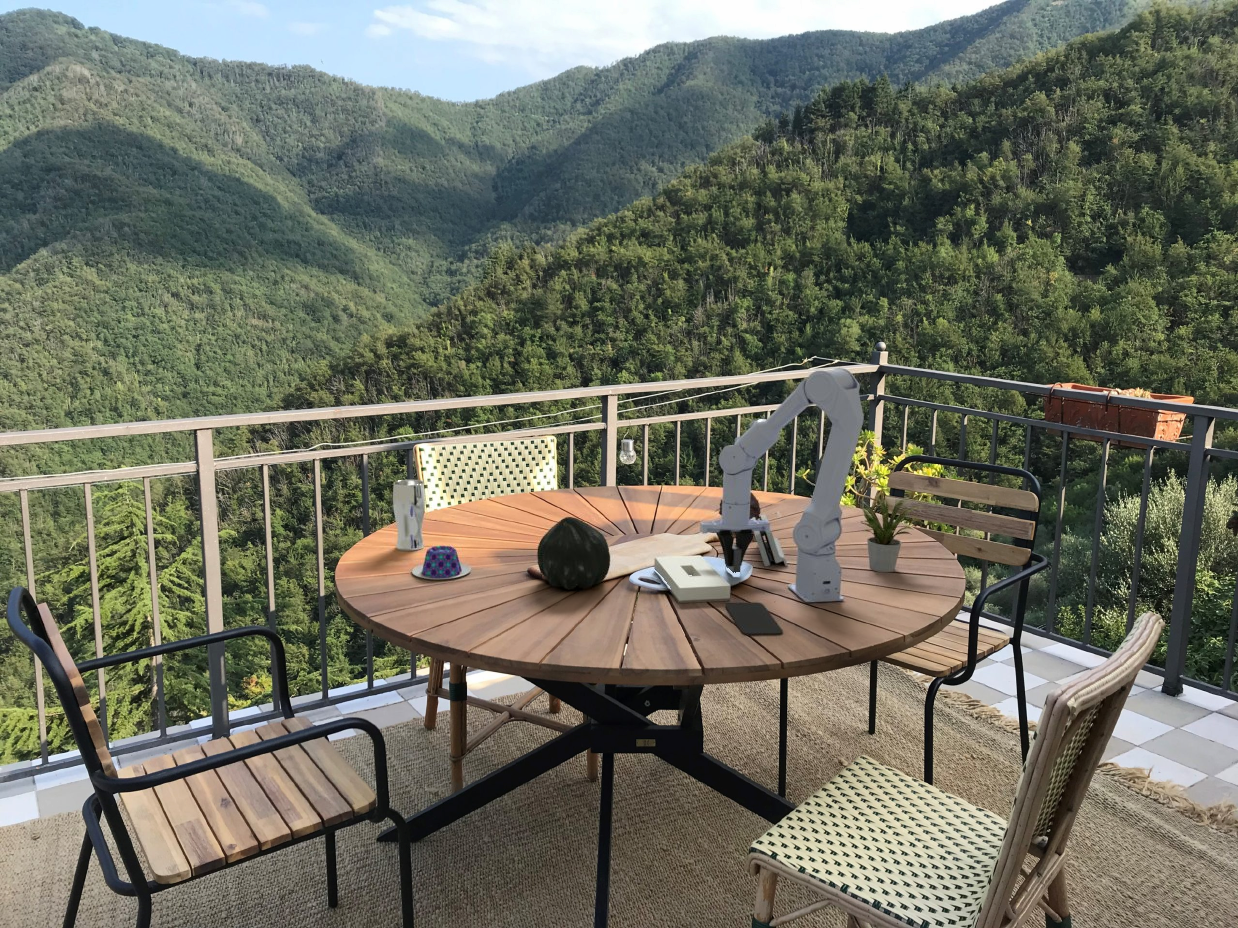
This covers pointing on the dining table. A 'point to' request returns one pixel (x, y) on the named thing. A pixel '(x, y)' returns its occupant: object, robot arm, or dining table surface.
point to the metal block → (735, 559)
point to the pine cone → (753, 507)
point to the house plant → (884, 536)
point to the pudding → (441, 564)
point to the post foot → (692, 579)
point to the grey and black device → (769, 545)
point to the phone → (753, 619)
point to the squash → (573, 555)
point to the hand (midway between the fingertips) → (733, 564)
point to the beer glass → (409, 513)
